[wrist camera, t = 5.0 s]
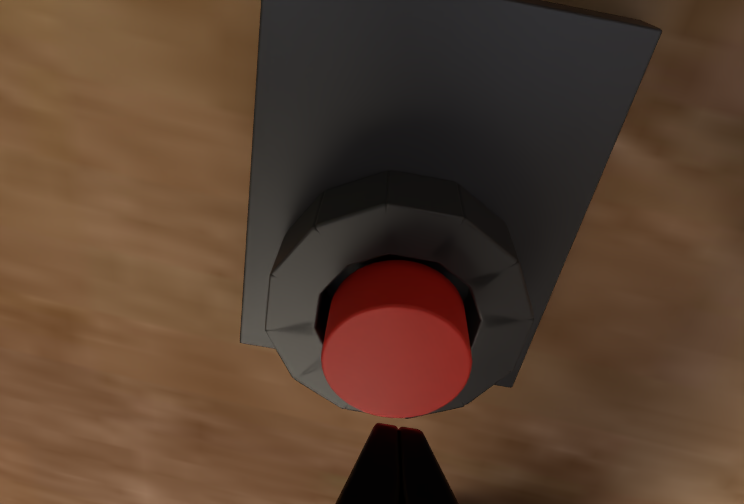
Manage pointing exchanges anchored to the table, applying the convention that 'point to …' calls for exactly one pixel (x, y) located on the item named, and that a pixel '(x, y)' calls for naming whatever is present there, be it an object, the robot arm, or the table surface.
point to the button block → (428, 160)
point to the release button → (396, 340)
